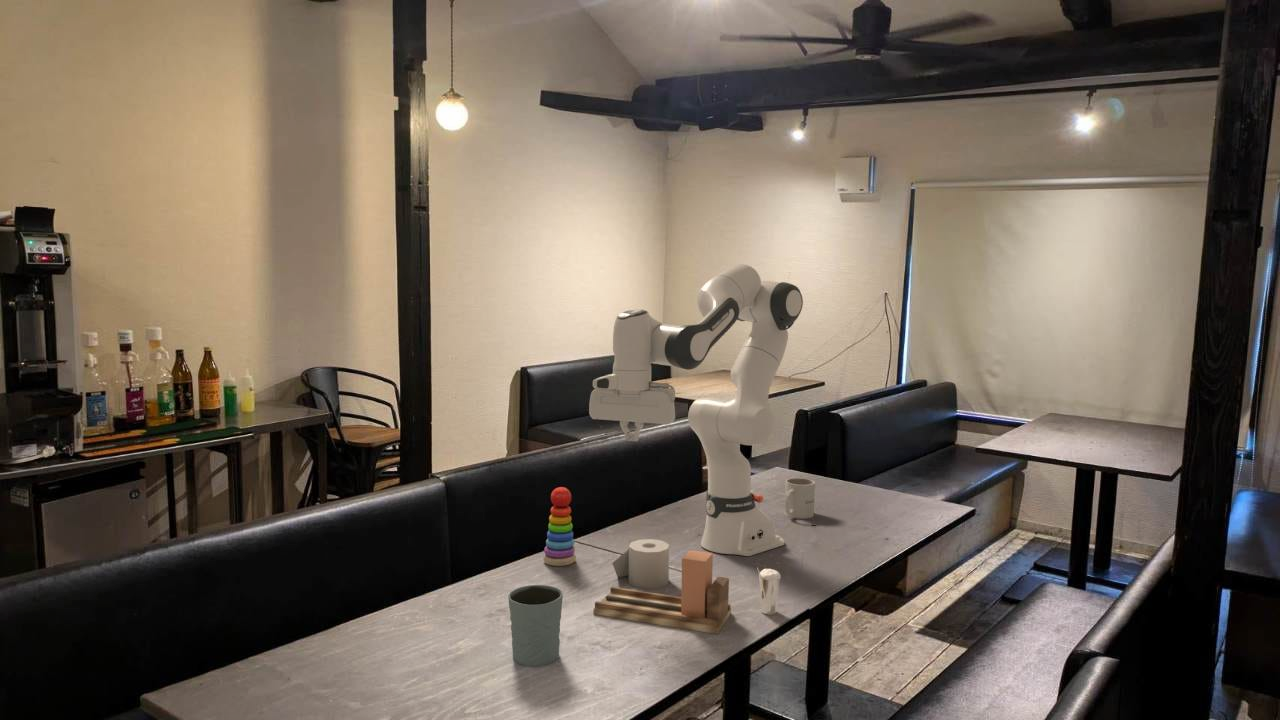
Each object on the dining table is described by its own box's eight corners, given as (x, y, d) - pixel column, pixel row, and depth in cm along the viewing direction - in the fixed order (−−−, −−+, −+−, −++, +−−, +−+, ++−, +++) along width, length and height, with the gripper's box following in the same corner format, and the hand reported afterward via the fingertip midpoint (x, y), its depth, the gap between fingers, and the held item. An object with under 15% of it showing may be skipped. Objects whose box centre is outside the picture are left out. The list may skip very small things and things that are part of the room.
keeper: (681, 615, 173) (682, 558, 172) (688, 605, 178) (689, 550, 177) (704, 618, 171) (705, 561, 170) (711, 608, 176) (712, 553, 175)
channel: (593, 613, 177) (593, 576, 176) (612, 595, 187) (613, 559, 186) (717, 634, 168) (718, 594, 167) (731, 613, 178) (731, 575, 177)
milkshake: (750, 610, 180) (751, 564, 179) (772, 606, 182) (773, 561, 181) (761, 618, 175) (763, 572, 174) (783, 614, 178) (785, 568, 176)
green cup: (516, 672, 151) (516, 608, 150) (502, 648, 160) (502, 588, 159) (570, 662, 155) (570, 600, 154) (553, 640, 164) (553, 580, 163)
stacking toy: (570, 568, 203) (570, 493, 201) (539, 565, 205) (539, 490, 203) (579, 557, 211) (579, 484, 209) (549, 555, 212) (549, 482, 210)
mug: (797, 508, 256) (798, 476, 255) (819, 515, 250) (820, 482, 249) (770, 515, 249) (771, 482, 247) (792, 522, 242) (794, 488, 241)
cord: (605, 600, 181) (605, 595, 181) (606, 598, 182) (606, 594, 182) (712, 616, 173) (712, 612, 173) (713, 615, 174) (713, 610, 174)
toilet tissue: (609, 576, 199) (610, 540, 198) (665, 573, 201) (665, 538, 200) (615, 590, 190) (615, 553, 189) (672, 587, 192) (673, 551, 191)
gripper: (679, 381, 192) (678, 441, 193) (597, 377, 199) (597, 434, 200) (670, 385, 186) (670, 446, 187) (586, 380, 193) (586, 439, 194)
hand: (631, 440), depth 194 cm, fingers closed
